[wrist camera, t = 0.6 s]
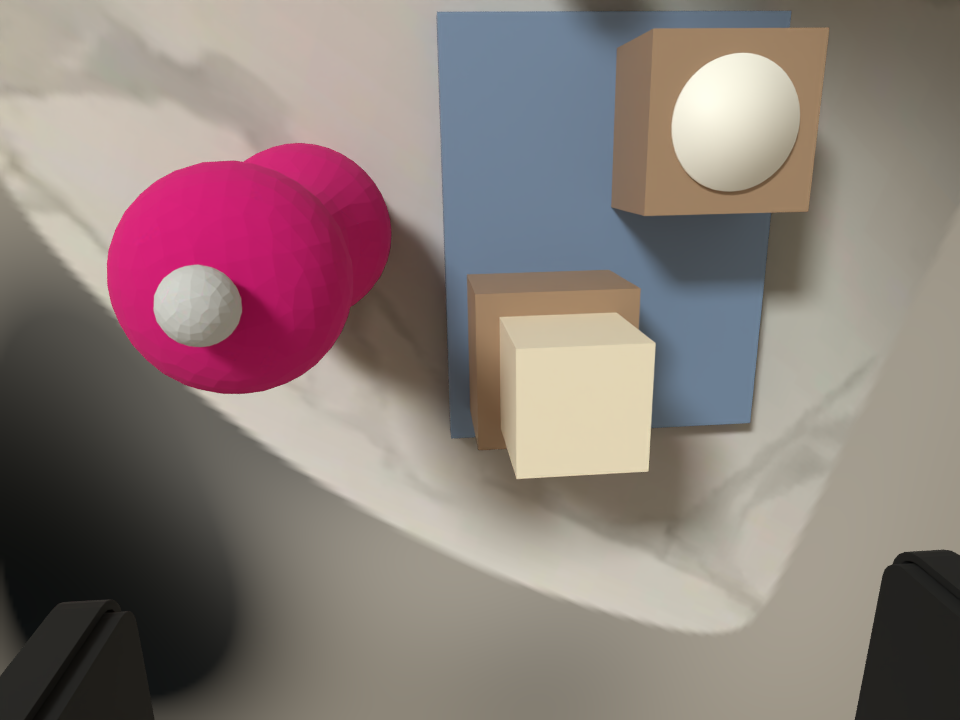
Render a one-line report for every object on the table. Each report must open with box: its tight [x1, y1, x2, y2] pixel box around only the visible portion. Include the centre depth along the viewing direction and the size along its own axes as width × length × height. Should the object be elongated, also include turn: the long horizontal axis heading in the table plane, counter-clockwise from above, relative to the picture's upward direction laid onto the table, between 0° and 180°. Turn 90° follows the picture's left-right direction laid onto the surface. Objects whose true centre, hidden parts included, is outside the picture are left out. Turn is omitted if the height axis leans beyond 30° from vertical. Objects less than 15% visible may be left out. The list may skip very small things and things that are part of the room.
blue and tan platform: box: [437, 11, 829, 479], centre depth 29 cm, size 20×16×11 cm
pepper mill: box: [107, 143, 391, 394], centre depth 24 cm, size 7×7×20 cm
